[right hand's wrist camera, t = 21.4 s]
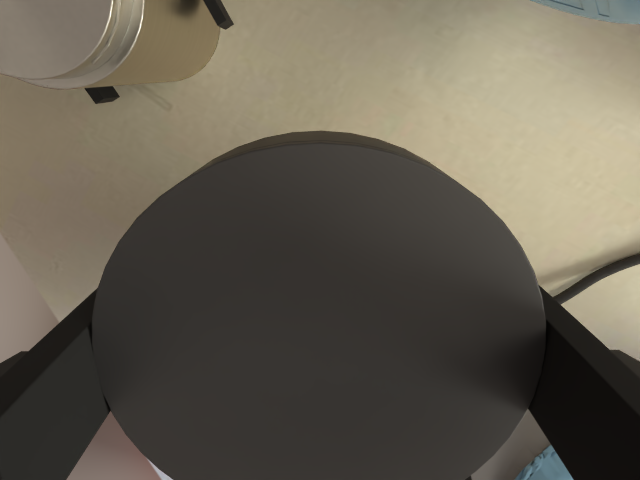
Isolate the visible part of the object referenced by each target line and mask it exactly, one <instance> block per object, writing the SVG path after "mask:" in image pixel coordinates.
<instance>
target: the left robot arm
mask: <svg viewBox="0 0 640 480" xmlns="http://www.w3.org/2000/svg"><path fill="white" fill-rule="evenodd" d="M203 1H204V3H205V5H206V6H207V8H208V10H209V12H210V14H211V15H212V17H213V19H214V21H215V22H216V24H217V26H219V27H221V28H223V29H225V30H226V29H227V28H229V27H230V26H232V25H234V24H233V22H232V20H231V18H230V16H229V15H228V13H227V11H226V9H225V7H224V6H223V4H222V2H221V0H203ZM531 1H534V2H536V3H539V4H542V5H545V6H548V7H551V8H554V9H557V10H560V11H564V12H567V13H571V14H574V15H578V16H582V17H586V18H591V19H596V20H601V21H607V22H614V23H626V24H640V0H531ZM85 90H86V91H87V92H88V94H89V95H90V97H91V98H92V99H93V101H94V102H95V104H98V103H105V102H112V101H114V100H116V99H117V98H119V97H120V96H119V95H118V93H117V92H116V90H115V89H114V87H113V86H105V87H92V88H85Z"/></svg>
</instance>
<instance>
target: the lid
mask: <svg viewBox="0 0 640 480" xmlns="http://www.w3.org/2000/svg"><path fill="white" fill-rule="evenodd" d="M92 350H93V355H94V359H95V364H96V368H97V372H98V376H99V380H100V384H101V388H102V392H103V395H104V397H105V399H106V401H107V403H108V405H109V407H110V410H111V412H112V414H113V415H114V417H115V418H116V420H117V422H118V423H119V425H120V426H121V428H122V429H123V431H124V432H125V434H126V435H127V436H128V438H129V439H130V440H131V441H132V442H133V443H134V445H135V446H136V447H137V448H138V449H139V451H140V452H141V453H142V454H143V455H144V456H145V457H147V458H148V459H149V460H150V461H151V462H152V463H153V464H154V465H155V466H156V467H157V468H158V469H160V470H161V471H162V472H164V473H165V474H166V475H168V476H169V477H170V478H172V479H173V480H465V479H466V478H468V477H469V476H470V475H472V474H473V473H475V472H476V471H477V470H478V469H479V468H480V467H482V466H483V465H484V464H485V463H486V462H487V461H488V460H489V459H491V458H492V457H493V456H494V455H495V454H496V453H497V451H498V450H499V449H500V448H501V447H502V446H503V445H504V443H505V442H506V441H507V440H508V439H509V438H510V436H511V435H512V433H513V432H514V430H515V429H516V428H517V426H518V425H519V423H520V422H521V420H522V419H523V417H524V415H525V413H526V411H527V409H528V407H529V405H530V403H531V401H532V399H533V397H534V394H535V391H536V388H537V385H538V382H539V379H540V376H541V373H542V368H543V362H544V356H545V350H546V319H545V313H544V306H543V299H542V295H541V292H540V288H539V285H538V282H537V279H536V276H535V273H534V270H533V268H532V266H531V264H530V262H529V260H528V258H527V256H526V254H525V253H524V251H523V249H522V247H521V245H520V244H519V242H518V241H517V240H516V238H515V237H514V235H513V234H512V233H511V231H510V230H509V229H508V227H507V226H506V225H505V223H504V222H503V221H502V220H501V219H500V218H499V217H498V216H497V215H496V214H495V213H494V212H493V211H492V210H491V209H490V208H489V207H488V206H487V205H486V204H485V203H484V202H483V201H482V200H481V199H480V198H478V197H477V196H476V195H474V194H473V193H472V192H470V191H469V190H467V189H466V188H465V187H463V186H462V185H461V184H459V183H458V182H457V181H455V180H454V179H452V178H451V177H450V176H448V175H447V174H445V173H444V172H442V171H441V170H440V169H438V168H437V167H435V166H434V165H432V164H431V163H430V162H428V161H426V160H424V159H422V158H421V157H419V156H417V155H415V154H413V153H411V152H409V151H407V150H406V149H404V148H401V147H398V146H395V145H393V144H390V143H387V142H384V141H382V140H379V139H375V138H371V137H366V136H361V135H357V134H352V133H343V132H331V131H308V132H292V133H287V134H282V135H276V136H271V137H266V138H262V139H260V140H257V141H254V142H251V143H248V144H245V145H242V146H239V147H237V148H235V149H233V150H231V151H229V152H227V153H225V154H223V155H221V156H219V157H217V158H215V159H213V160H212V161H210V162H209V163H207V164H206V165H204V166H203V167H201V168H200V169H198V170H197V171H196V172H194V173H193V174H191V175H190V176H188V177H187V178H185V179H184V180H183V181H181V182H180V183H178V184H177V185H175V186H174V187H173V188H171V189H170V190H168V191H167V192H165V193H164V194H163V195H161V196H160V197H159V198H158V199H157V200H156V201H154V202H153V203H152V204H151V205H150V206H149V207H148V208H147V209H146V210H145V211H144V212H143V213H142V214H141V215H140V216H139V217H138V218H137V219H136V220H135V221H134V223H133V224H132V225H131V227H130V228H129V229H128V230H127V232H126V233H125V234H124V236H123V237H122V238H121V240H120V241H119V242H118V244H117V246H116V248H115V250H114V252H113V254H112V255H111V257H110V259H109V261H108V263H107V265H106V266H105V269H104V272H103V275H102V278H101V281H100V284H99V286H98V289H97V292H96V298H95V304H94V309H93V315H92Z"/></svg>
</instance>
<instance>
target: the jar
mask: <svg viewBox="0 0 640 480" xmlns="http://www.w3.org/2000/svg"><path fill="white" fill-rule="evenodd" d="M219 33H220V27H219V26H217V24H216V22H215V21H214V19H213V17H212V15H211V14H210V12H209V10H208V8H207V6H206V5H205V3H204V1H203V0H0V73H1V74H3V75H7V76H11V77H15V78H18V79H20V80H22V81H25V82H27V83H30V84H33V85H37V86H41V87H45V88H52V89H79V88H92V87H105V86H118V85H131V84H144V83H158V82H171V81H178V80H183V79H186V78H188V77H191V76H193V75H194V74H196V73H197V72H199V71H200V70H201V69H202V68H203V67H204V66H205V65H206V64H207V63H208V62H209V60H210V59H211V57H212V55H213V54H214V51H215V49H216V46H217V43H218V39H219Z"/></svg>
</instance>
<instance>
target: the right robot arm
mask: <svg viewBox="0 0 640 480" xmlns="http://www.w3.org/2000/svg"><path fill="white" fill-rule="evenodd" d="M638 264H640V254H637V255H634V256H631V257H628V258H625V259H623V260H620V261H617V262H615V263H612V264H610V265H608V266H605V267H603V268H601V269H599V270H597V271H595V272H593V273H591V274H590V275H588V276H586V277H585V278H583V279H582V280H580V281H579V282H577V283H576V284H574V285H573V286H571V287H570V288H568V289H566V290H565V291H563V292H561V293H560V294H558V295H556V296H555V297H553V298H552V297H551V296H550V295H549V294H548V293H547V292H546V291H545V290H544V289H543V288H541V287H540V286H539V288H540V292H541V295H542V299H543V306H544V313H545V319H546V350H545V356H544V362H543V368H542V373H541V376H540V379H539V382H538V385H537V388H536V391H535V394H534V397H533V399H532V401H531V403H530V405H529V407H528V409H527V411H526V413H525V415H524V417H523V419H522V420H521V422H520V423H519V425H518V426H517V428H516V429H515V430H514V432H513V433H512V435H511V436H510V438H509V439H508V440H507V441H506V442H505V443H504V445H503V446H502V447H501V448H500V449H499V450H498V451H497V453H496V454H495V455H494V456H493V457H492V458H491V459H489V460H488V461H487V462H486V463H485V464H484V465H483V466H482V467H480V468H479V469H478V470H477V471H476V472H475V473H473V474H472V475H470V476H469V477H468V478H466V479H465V480H640V362H639V361H637V360H636V359H634V358H632V357H630V356H629V355H627V354H625V353H623V352H621V351H620V350H609V349H608V348H607V347H606V346H605V345H604V344H603V343H602V342H600V341H599V340H598V339H597V338H596V337H595V336H594V335H593V334H592V333H591V332H590V331H588V330H587V329H586V328H585V327H584V326H583V325H582V324H581V323H580V322H579V321H578V320H576V319H575V318H574V317H573V316H572V315H571V314H570V313H569V312H568V311H567V310H565V309H564V308H563V307H562V306H561V304H562V303H564V302H566V301H567V300H569V299H571V298H572V297H574V296H576V295H577V294H579V293H580V292H582V291H583V290H585V289H586V288H588V287H589V286H591V285H592V284H594V283H596V282H597V281H599V280H601V279H603V278H605V277H607V276H609V275H611V274H614V273H616V272H618V271H621V270H624V269H626V268H629V267H632V266H635V265H638ZM97 289H98V288H97ZM97 289H96V290H95V291H94V292H93V293H92V294H91V295H90V296H88V297H87V298H86V299H85V300H84V301H83V302H82V303H81V304H80V305H79V306H77V307H76V308H75V309H74V310H73V311H72V312H71V313H70V314H69V315H68V316H67V317H65V318H64V319H63V320H62V321H61V322H60V323H59V324H58V325H57V326H56V327H55V328H53V329H52V330H51V331H50V332H49V333H48V334H47V335H46V336H45V337H44V338H43V339H41V340H40V341H39V342H38V343H37V344H36V345H35V346H34V347H33V348H32V349H31V350H29V351H21V352H19V353H18V354H16V355H14V356H12V357H11V358H9V359H7V360H5V361H3V362H2V363H0V480H66V479H67V478H68V476H69V475H70V473H71V471H72V470H73V468H74V467H75V465H76V464H77V462H78V461H79V459H80V457H81V456H82V454H83V453H84V451H85V450H86V448H87V447H88V445H89V443H90V442H91V440H92V439H93V437H94V436H95V434H96V432H97V431H98V429H99V428H100V426H101V425H102V423H103V422H104V420H105V419H106V417H107V415H108V414H109V412H110V411H111V410H110V407H109V405H108V403H107V401H106V399H105V397H104V395H103V392H102V388H101V384H100V380H99V376H98V372H97V368H96V364H95V359H94V355H93V350H92V315H93V309H94V304H95V298H96V292H97Z"/></svg>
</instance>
